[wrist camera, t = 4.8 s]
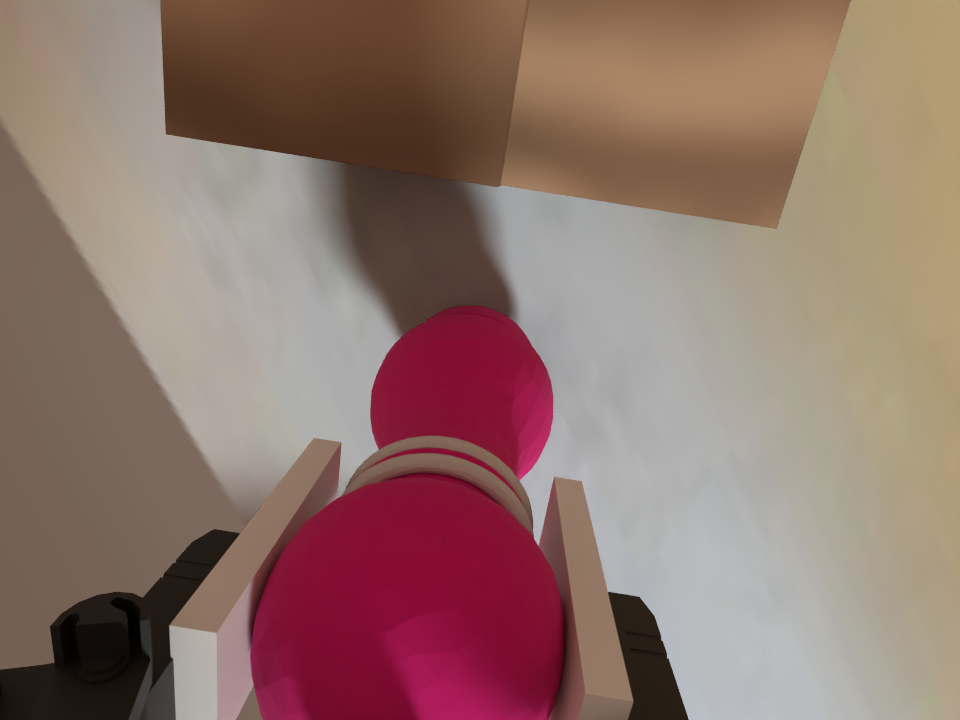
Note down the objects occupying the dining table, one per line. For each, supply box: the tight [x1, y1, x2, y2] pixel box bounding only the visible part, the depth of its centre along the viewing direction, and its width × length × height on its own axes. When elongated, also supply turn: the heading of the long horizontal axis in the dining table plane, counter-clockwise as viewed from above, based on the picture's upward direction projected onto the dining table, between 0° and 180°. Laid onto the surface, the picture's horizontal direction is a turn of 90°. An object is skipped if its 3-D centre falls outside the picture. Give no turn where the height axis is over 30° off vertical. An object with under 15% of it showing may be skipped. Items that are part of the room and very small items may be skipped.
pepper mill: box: [250, 306, 565, 720], centre depth 16 cm, size 7×7×20 cm
